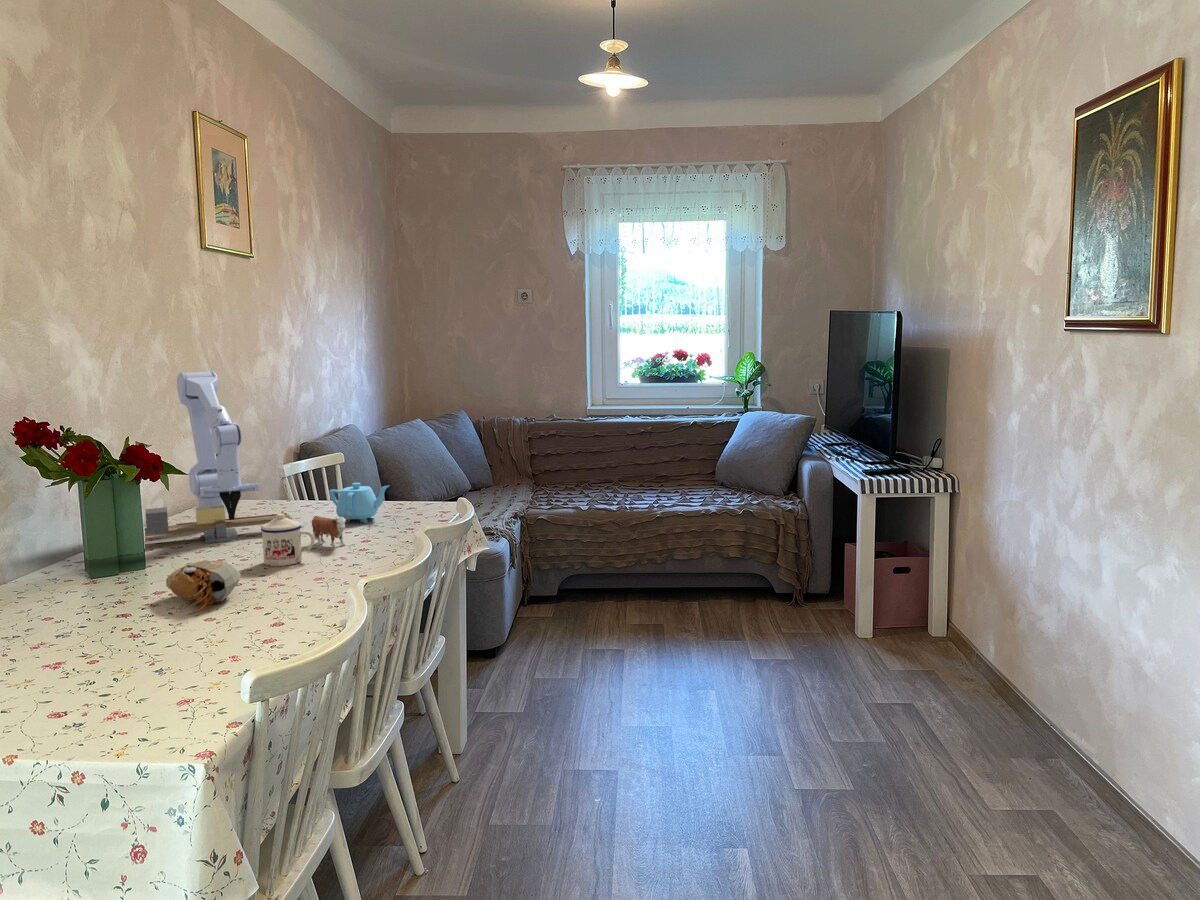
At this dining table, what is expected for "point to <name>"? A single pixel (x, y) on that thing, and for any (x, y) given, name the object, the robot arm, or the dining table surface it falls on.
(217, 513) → the block
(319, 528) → the bull figurine
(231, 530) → the pivot stand
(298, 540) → the teacup with lid
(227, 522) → the beam
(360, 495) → the teapot
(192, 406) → the robot arm
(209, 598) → the nautilus
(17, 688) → the dining table surface
